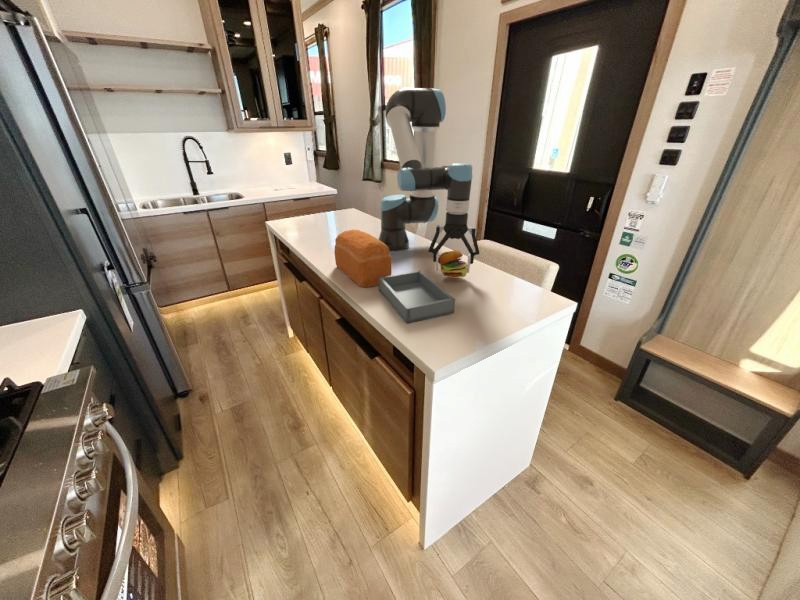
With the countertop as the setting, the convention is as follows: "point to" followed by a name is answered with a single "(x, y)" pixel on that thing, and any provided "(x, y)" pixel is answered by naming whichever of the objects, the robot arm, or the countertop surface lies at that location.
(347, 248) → the bread
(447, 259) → the cheeseburger
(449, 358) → the countertop surface
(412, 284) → the box
